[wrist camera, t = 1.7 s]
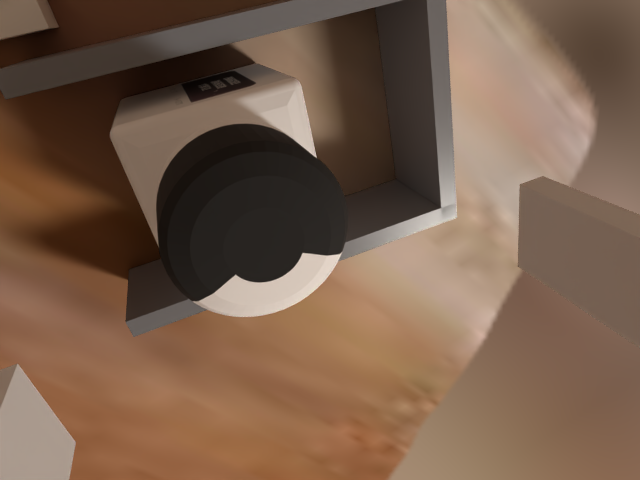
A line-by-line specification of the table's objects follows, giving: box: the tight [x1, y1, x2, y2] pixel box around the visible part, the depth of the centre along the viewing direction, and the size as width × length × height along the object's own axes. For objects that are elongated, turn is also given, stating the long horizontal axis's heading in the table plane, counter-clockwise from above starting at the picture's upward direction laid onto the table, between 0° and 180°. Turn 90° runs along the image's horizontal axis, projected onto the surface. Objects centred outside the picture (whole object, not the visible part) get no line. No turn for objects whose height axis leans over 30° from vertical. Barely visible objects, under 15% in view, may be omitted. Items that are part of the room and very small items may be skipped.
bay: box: [0, 0, 457, 337], centre depth 24 cm, size 19×13×6 cm
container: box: [110, 64, 348, 317], centre depth 20 cm, size 8×8×13 cm
